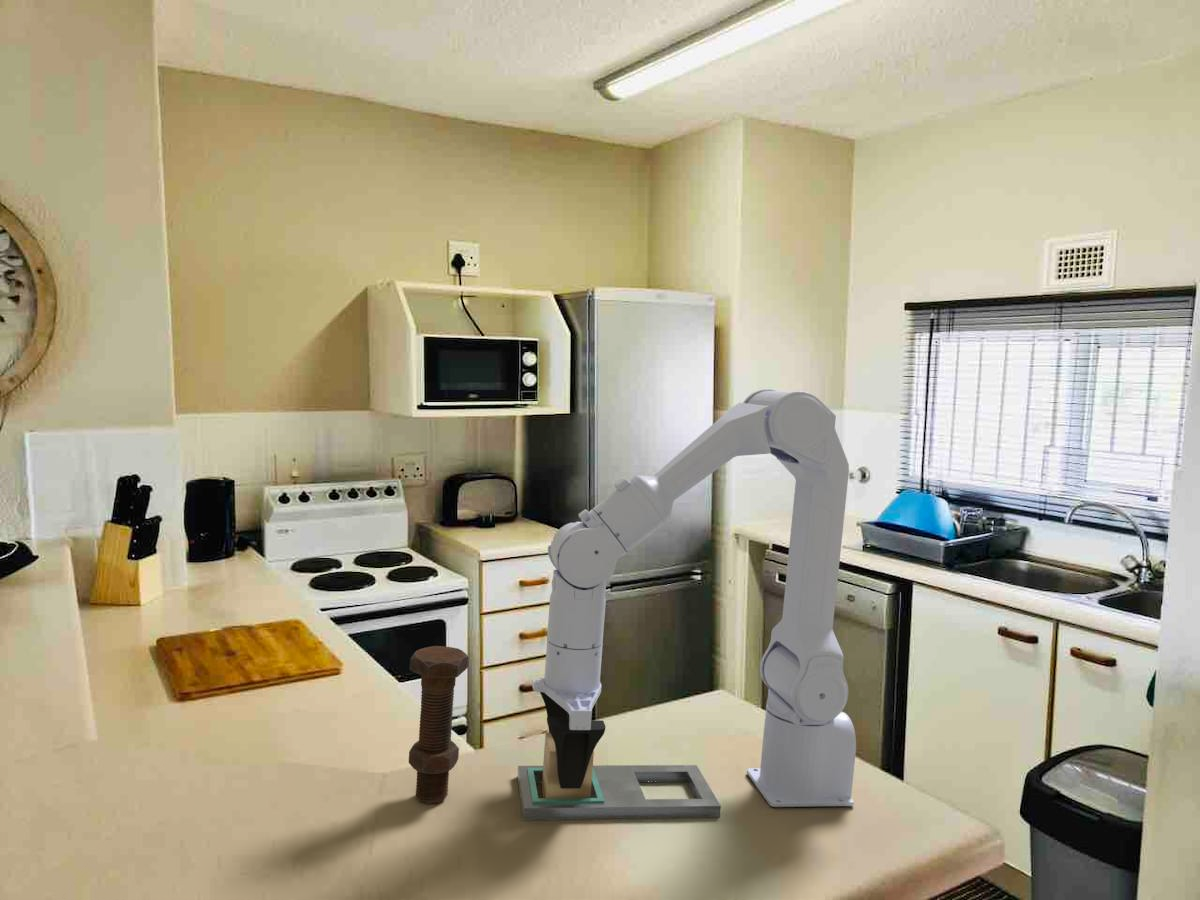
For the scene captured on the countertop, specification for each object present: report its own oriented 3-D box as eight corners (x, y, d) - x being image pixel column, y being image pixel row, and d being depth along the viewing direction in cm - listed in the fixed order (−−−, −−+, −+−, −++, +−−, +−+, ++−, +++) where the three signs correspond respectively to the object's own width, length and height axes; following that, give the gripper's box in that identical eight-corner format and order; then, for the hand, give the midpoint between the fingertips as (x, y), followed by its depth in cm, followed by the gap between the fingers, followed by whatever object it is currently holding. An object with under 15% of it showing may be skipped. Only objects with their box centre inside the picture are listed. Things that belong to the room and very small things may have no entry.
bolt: (443, 816, 82) (452, 666, 81) (395, 807, 83) (404, 659, 82) (465, 789, 88) (474, 648, 86) (419, 781, 89) (427, 642, 87)
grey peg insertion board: (695, 775, 94) (696, 763, 94) (719, 817, 86) (721, 804, 85) (517, 776, 91) (518, 764, 91) (523, 820, 82) (524, 806, 82)
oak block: (583, 786, 90) (587, 732, 90) (589, 808, 86) (593, 751, 85) (541, 787, 89) (545, 732, 89) (545, 808, 85) (549, 751, 84)
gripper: (530, 619, 93) (522, 738, 94) (542, 664, 78) (532, 804, 79) (593, 620, 94) (584, 738, 95) (617, 665, 79) (606, 803, 81)
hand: (565, 768), depth 87 cm, fingers open, 7 cm apart
